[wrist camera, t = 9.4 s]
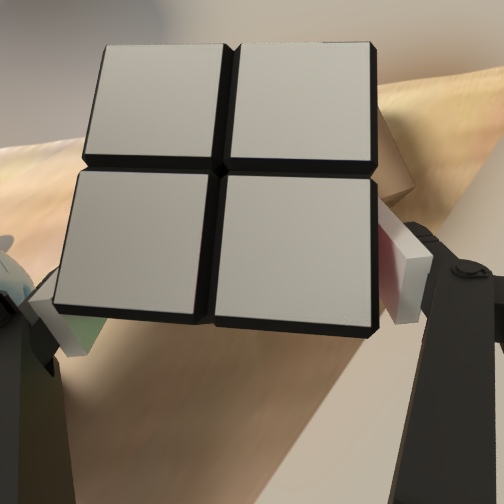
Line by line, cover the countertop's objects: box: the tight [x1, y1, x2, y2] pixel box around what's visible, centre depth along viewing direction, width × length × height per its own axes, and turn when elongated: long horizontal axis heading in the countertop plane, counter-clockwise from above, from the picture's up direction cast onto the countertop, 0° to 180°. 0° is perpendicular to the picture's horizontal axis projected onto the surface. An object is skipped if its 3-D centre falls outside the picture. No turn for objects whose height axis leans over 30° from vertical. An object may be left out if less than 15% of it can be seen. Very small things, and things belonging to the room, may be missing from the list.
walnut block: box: [371, 108, 416, 209], centre depth 33 cm, size 13×13×7 cm
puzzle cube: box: [52, 42, 380, 339], centre depth 15 cm, size 10×10×10 cm
